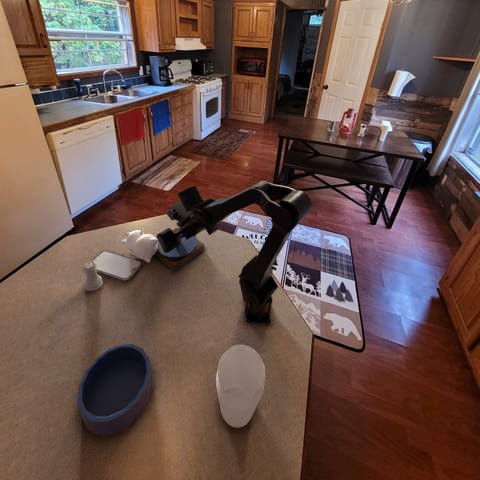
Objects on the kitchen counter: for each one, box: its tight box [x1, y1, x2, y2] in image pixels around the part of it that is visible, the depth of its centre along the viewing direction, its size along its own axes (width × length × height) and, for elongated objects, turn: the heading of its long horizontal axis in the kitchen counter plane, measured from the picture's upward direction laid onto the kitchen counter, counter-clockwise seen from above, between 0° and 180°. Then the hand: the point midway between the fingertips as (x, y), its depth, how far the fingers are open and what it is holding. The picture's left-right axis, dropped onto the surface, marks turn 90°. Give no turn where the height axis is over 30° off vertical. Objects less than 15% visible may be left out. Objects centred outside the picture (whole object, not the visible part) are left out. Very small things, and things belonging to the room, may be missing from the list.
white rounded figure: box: [121, 228, 158, 263], centre depth 85 cm, size 9×11×12 cm
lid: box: [157, 227, 198, 258], centre depth 86 cm, size 14×14×6 cm
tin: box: [76, 343, 153, 437], centre depth 50 cm, size 13×13×5 cm
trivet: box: [154, 239, 205, 272], centre depth 88 cm, size 13×13×2 cm
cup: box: [215, 344, 266, 429], centre depth 48 cm, size 9×9×12 cm
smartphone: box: [92, 251, 142, 281], centre depth 79 cm, size 7×1×15 cm
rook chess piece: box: [83, 260, 103, 292], centre depth 72 cm, size 4×4×8 cm
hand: (175, 235), depth 86 cm, fingers open, 9 cm apart
